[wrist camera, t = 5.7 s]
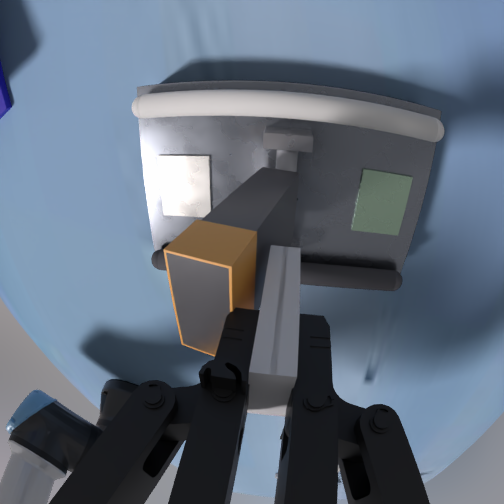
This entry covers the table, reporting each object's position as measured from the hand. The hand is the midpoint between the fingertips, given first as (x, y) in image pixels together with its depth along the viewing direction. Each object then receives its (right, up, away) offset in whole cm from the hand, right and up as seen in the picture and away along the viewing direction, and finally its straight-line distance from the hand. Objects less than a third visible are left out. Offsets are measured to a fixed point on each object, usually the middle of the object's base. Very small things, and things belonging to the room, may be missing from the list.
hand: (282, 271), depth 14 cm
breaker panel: (+1, +7, +11) cm, 13 cm away
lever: (+1, +5, +7) cm, 8 cm away
